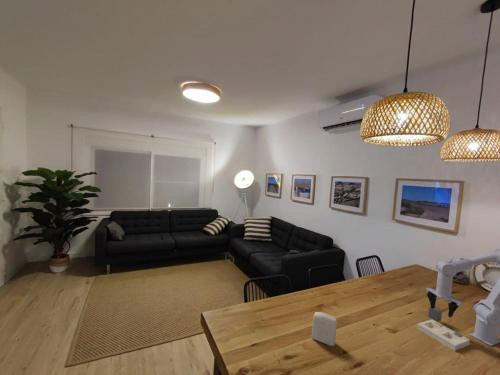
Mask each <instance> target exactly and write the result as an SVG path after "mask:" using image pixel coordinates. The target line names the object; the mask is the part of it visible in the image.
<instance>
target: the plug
mask: <svg viewBox="0 0 500 375" xmlns="http://www.w3.org/2000/svg"><path fill="white" fill-rule="evenodd" d="M442 315H443V310H442V309H441V308H439V307H436V306H435V308H433V309H432V308H431V306H430V307H429V308H428V316H427V321H428V320H432V319H433V320H434V321H436V322H439V323H441V324H442Z"/></svg>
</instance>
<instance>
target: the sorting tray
mask: <svg viewBox="0 0 500 375" xmlns="http://www.w3.org/2000/svg"><path fill="white" fill-rule="evenodd" d="M416 326H417V327H416V329H417V330H419V331H421V332H422V333H424V334H426V335H427V336H428V337H430V338H432V339H434V340H435V341H437V342H438V343H441V344H442V345H444V346H445V347H447V348H448V349H451V350H452V351H454V352H456V351H458V350H460V349H463V348H466V347H468V346H470V344H471V339H470V338H468V337H467V336H464V335H463V334H461V333H458V332H457V331H455V330H453V329H451V328H449V327H447V325H446V326H445V325H444V324H442V322H441V323H439V322H436V321H434V320H433V319H432V320H428V319H427V320H425V321H422V322H419V323H417V325H416Z"/></svg>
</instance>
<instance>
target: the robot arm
mask: <svg viewBox="0 0 500 375" xmlns="http://www.w3.org/2000/svg"><path fill="white" fill-rule="evenodd" d="M490 263H494V264H498V266H500V249H493V250H489V251H488V252H486V253H483V254H479V255H476V256H474V257H473V256H472V257H469V258H467V257H464V256H463V257H462V256H458V258H456V259H452V260H451V259H448V260H440V261H439V262H438V263H437V264H435V267H436V269H437V279H436V280H437V281H436V287H435V288H436V289H433V288H431V287H426V288H425V289H426V290H425V292H426V297H427V298H428V300H429V304H430V307H431V308H432V309H433V308H435V307H436V301H437V298H440V299H444V300H445V301H447V302H448V318H452V317H453V315H454V313H455V312H456V310H457V309H458V308H459V307H462V304H463V302H462V301H461V300H459V299H457V298H456V297H454V296H452V291H453V290H452V289H453V288H452V287H453V281H454V280H453V279H454V276H456V275H457V274H458V273H460V272H465V271H469V270H472V268H473V267H475V266H479V265H484V264H490ZM473 312H474V313H475V316H476V317H475V318H476V319H475V326H474V332H472V333H470V334H469V335H470V337H473V338H475V339H477V340H478V341H480V342H483V343H484V344H487V345H488V346H491V347H492V346H495V345H497V344H499V343H500V277H499V278H498V279H497V281H496V283H495V285H494V286H493V287H492V289H491V291H490V292H489V294H488V295H487V297H486V298H484V299H480V300H479V302H477V303H476V304H474V305H473Z"/></svg>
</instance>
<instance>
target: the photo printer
mask: <svg viewBox="0 0 500 375" xmlns="http://www.w3.org/2000/svg"><path fill="white" fill-rule="evenodd" d="M312 319H313V320H312V327H311V328H312V329H311V339H313V340H315V341H318V342H320V343H323V344H325V345H328V346H330V347H334V346H336V337H337V327H338V324H337V322H338V321H337V319H336V317H334V316H332V315H330V314H328V313H326V312H320V311H315V313H314V314H313V317H312Z"/></svg>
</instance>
